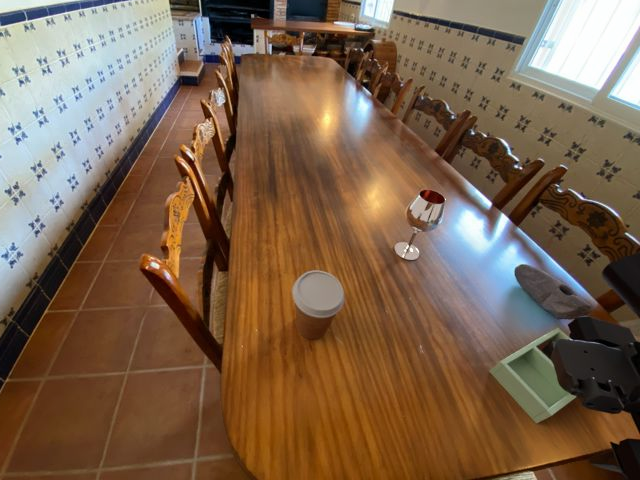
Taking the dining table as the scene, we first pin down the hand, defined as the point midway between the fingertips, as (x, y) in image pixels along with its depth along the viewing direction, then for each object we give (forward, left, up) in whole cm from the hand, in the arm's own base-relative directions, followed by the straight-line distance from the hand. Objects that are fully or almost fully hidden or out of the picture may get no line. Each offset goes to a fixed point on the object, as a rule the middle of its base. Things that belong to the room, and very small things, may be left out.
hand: (579, 421), depth 38 cm
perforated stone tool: (+34, -10, -13) cm, 38 cm away
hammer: (+17, -9, -12) cm, 23 cm away
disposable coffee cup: (+7, +37, -13) cm, 40 cm away
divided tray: (+14, -6, -13) cm, 20 cm away
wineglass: (+37, +20, -13) cm, 44 cm away
